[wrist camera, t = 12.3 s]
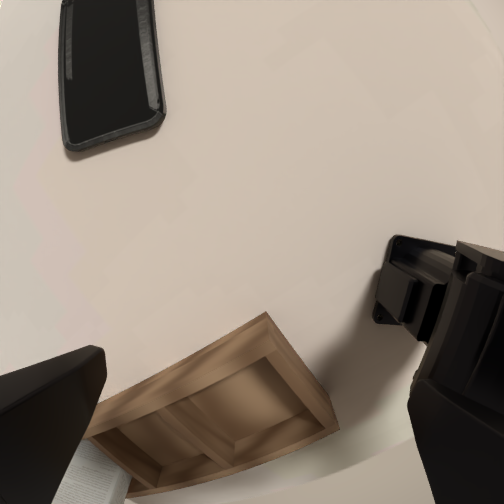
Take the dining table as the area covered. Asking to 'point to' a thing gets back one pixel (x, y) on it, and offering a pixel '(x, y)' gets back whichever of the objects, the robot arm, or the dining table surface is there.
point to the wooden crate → (214, 412)
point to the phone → (108, 71)
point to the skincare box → (92, 479)
